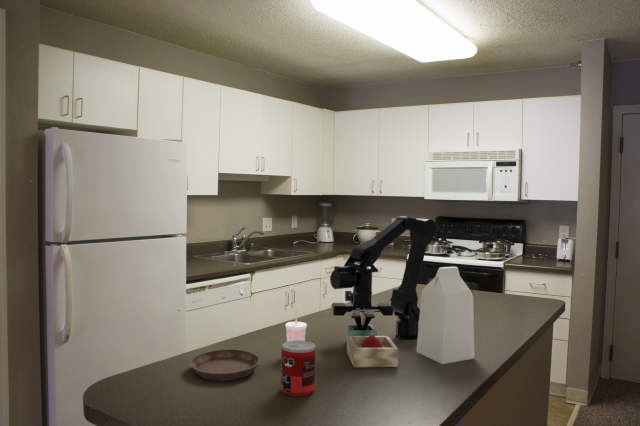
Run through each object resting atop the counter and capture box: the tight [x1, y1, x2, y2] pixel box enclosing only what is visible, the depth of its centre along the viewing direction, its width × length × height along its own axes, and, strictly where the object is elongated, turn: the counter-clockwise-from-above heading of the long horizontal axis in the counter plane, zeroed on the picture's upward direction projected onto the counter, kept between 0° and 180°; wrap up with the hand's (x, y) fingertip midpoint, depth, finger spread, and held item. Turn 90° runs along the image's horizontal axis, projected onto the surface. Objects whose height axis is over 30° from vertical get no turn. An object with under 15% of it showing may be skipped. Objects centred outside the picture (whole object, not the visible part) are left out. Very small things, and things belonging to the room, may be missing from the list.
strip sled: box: [346, 324, 399, 368], centre depth 153 cm, size 12×25×5 cm, turn 6°
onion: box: [362, 333, 382, 348], centre depth 145 cm, size 6×6×8 cm
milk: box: [415, 266, 475, 365], centre depth 152 cm, size 12×12×26 cm
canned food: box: [280, 340, 317, 397], centre depth 123 cm, size 8×8×11 cm
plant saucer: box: [190, 349, 260, 382], centre depth 135 cm, size 18×18×3 cm
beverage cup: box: [284, 306, 308, 342], centre depth 149 cm, size 6×6×14 cm
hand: (361, 336), depth 162 cm, fingers closed
